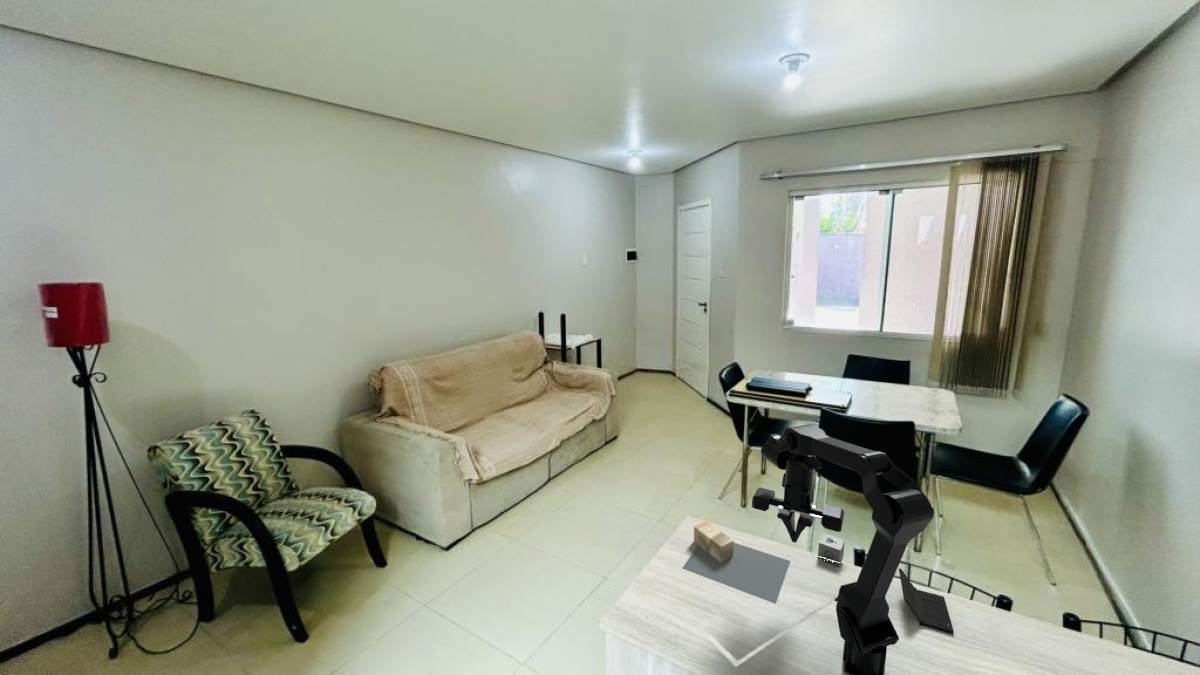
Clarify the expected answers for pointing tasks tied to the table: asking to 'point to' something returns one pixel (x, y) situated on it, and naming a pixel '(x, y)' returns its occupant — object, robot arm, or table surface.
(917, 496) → the robot arm
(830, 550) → the grey printed cube
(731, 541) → the beech block
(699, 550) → the slate mat
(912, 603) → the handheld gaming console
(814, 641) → the table surface
